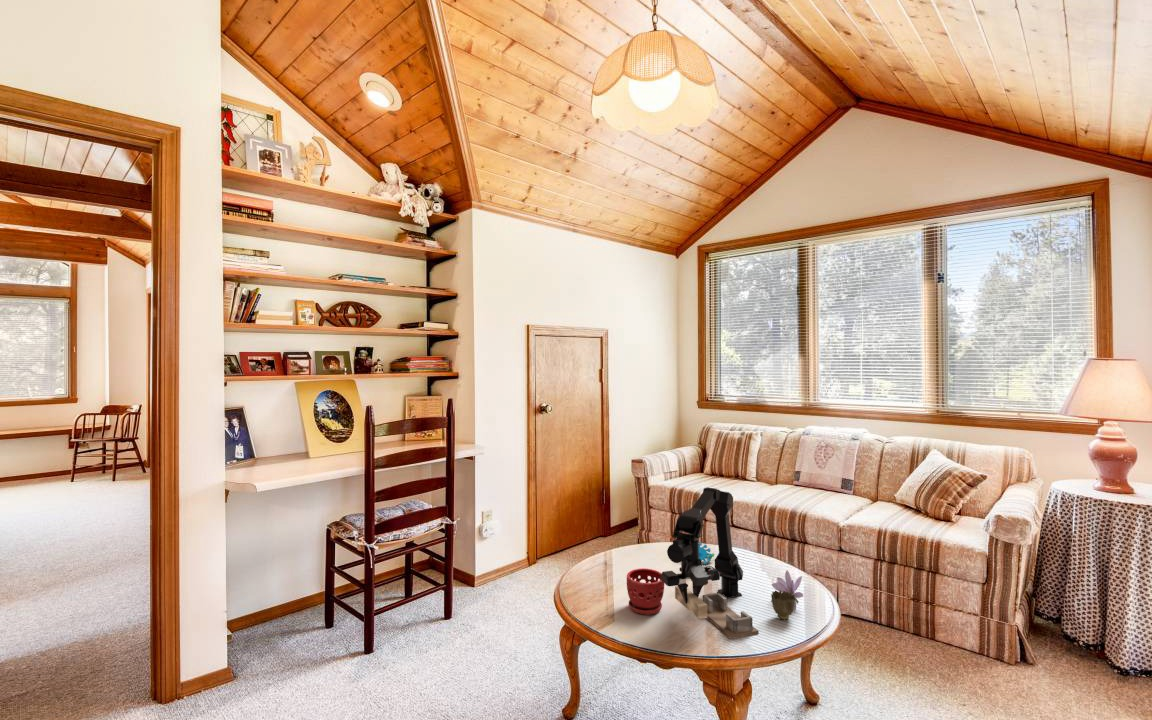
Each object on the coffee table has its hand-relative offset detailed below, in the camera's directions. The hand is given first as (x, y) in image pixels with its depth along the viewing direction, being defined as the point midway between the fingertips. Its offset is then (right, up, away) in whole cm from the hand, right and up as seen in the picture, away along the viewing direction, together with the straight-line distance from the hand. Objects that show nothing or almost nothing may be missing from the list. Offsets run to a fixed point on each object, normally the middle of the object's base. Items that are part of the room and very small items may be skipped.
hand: (690, 602), depth 175 cm
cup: (+32, -8, +5) cm, 33 cm away
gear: (+17, -9, +58) cm, 61 cm away
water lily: (+37, -8, +16) cm, 41 cm away
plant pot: (-13, -9, +13) cm, 20 cm away
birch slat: (0, -2, 0) cm, 2 cm away
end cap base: (+13, -8, +4) cm, 15 cm away
